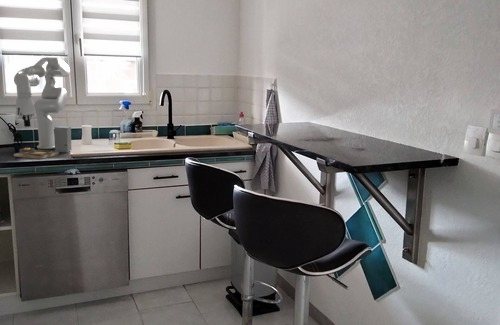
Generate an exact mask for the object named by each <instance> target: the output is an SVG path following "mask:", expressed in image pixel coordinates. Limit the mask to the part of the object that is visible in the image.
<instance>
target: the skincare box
mask: <svg viewBox="0 0 500 325" xmlns="http://www.w3.org/2000/svg"><path fill="white" fill-rule="evenodd" d="M54 137H55V148H54V151H55V152H59V153H70V152H71V151H72V127H71V126H64V125H63V126H62V125H61V126H60V125H59V126H54ZM70 150H71V151H70ZM69 151H70V152H69Z"/></svg>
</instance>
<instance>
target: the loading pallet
mask: <svg viewBox="0 0 500 325" xmlns="http://www.w3.org/2000/svg"><path fill="white" fill-rule="evenodd" d="M29 148H30V149H29V150H24V148H20V149H18V150H19V152H16V153H14V154H13V157H15V158H24V159H25V158H27V159H35V160H36V159H37V160H38V159H39V160H41V159H46V158H50V157H53V156H58V155H60V152H55V150H50V149H35V148H34V147H33V148H32V147H29Z"/></svg>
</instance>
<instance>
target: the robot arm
mask: <svg viewBox="0 0 500 325" xmlns="http://www.w3.org/2000/svg"><path fill="white" fill-rule="evenodd" d="M70 73H71V69H70V66H69V65H68V63H67V62H65V61H64V60H63V59H61V58H59V57H42V58H40V59H39V60H37V62H36V63H35V64H34V65H31V66H28V67H24V68H23V69H20V70H19V71H17V72H16V73H15V75H14V77H13V81H14V82H13V83H14V84H15V85H16V95H17V97H16V100H15V113H16V115H17V116H18V118H20V119H22V120H23V125H24V127H26V128H28V127H31V119H32V117H34V116H35V115H36V122H37V132H38V145H37V146H36V148H37V149H38V150H51V149H55V134H54V127H55V126H54V119H53V117H52V116H51V115H59V114H60V115H61V113H63V111H64V109H65V106H66V103H67V101H68V92H67V89H66V88H64V87H60V83H59V81H58V80H57V79H56V78H67V77H69V76H70ZM43 77H44V80H45V85H44V87H43V89H42V92H41V98H39V99H37V100H35V102H34V100H33V96H32V95H33V94H32V90H31V88H32V87H37V86H39V85H40V83H41V79H40V78H43Z"/></svg>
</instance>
